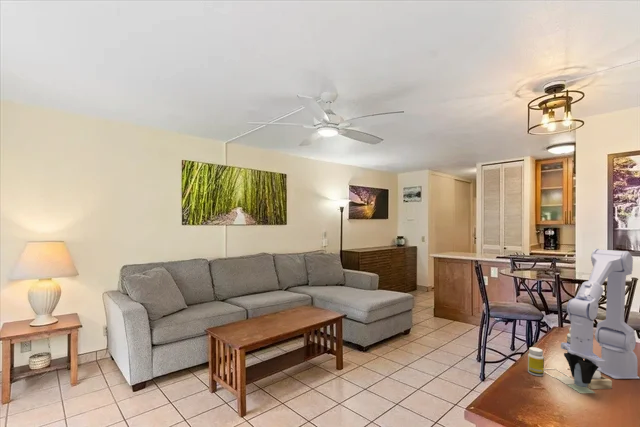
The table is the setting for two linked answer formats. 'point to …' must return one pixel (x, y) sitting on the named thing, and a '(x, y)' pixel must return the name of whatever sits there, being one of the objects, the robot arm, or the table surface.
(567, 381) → the square
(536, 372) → the supplement bottle
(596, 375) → the dome
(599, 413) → the table surface
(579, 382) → the pawn
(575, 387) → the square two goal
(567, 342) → the pill bottle
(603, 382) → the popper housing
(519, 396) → the table surface
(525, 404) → the table surface
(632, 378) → the robot arm
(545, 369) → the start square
